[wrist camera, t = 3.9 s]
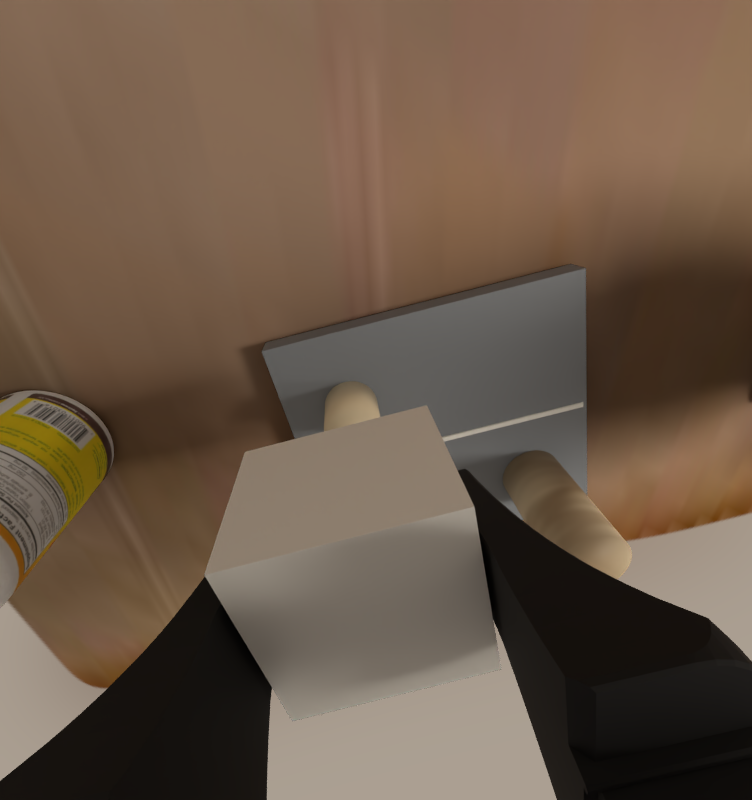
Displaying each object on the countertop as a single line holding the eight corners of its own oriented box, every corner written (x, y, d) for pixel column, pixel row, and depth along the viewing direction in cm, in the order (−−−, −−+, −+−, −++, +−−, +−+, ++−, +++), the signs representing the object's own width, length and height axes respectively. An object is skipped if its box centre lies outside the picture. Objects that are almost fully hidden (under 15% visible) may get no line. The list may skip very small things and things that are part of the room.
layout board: (571, 263, 19) (631, 281, 15) (576, 490, 24) (620, 544, 21) (265, 342, 19) (248, 379, 15) (342, 547, 25) (343, 611, 21)
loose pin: (557, 444, 21) (633, 528, 16) (559, 489, 23) (630, 581, 17) (500, 458, 21) (556, 547, 16) (505, 503, 23) (558, 598, 17)
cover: (426, 405, 12) (474, 506, 8) (454, 540, 14) (501, 670, 10) (244, 451, 12) (203, 575, 8) (302, 578, 14) (292, 721, 11)
